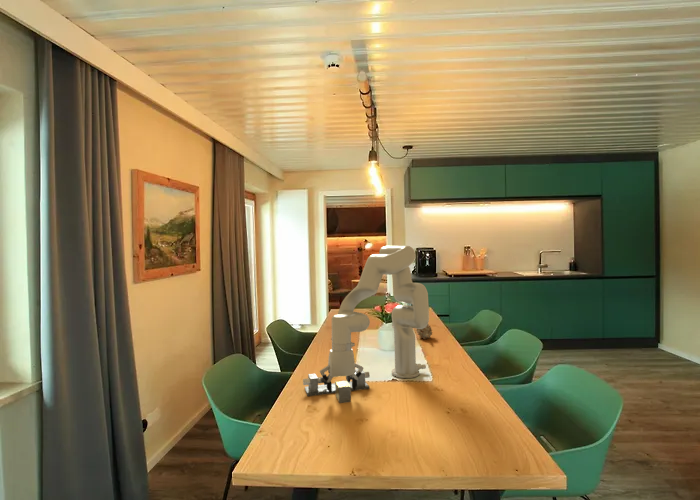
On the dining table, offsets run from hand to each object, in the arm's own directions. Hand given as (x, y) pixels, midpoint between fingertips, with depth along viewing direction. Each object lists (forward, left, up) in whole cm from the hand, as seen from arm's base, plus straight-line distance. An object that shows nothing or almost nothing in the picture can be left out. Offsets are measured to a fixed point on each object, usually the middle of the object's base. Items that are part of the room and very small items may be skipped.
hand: (342, 390), depth 157 cm
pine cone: (-69, -72, -4) cm, 100 cm away
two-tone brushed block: (0, 0, -4) cm, 4 cm away
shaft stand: (0, -11, -4) cm, 12 cm away
